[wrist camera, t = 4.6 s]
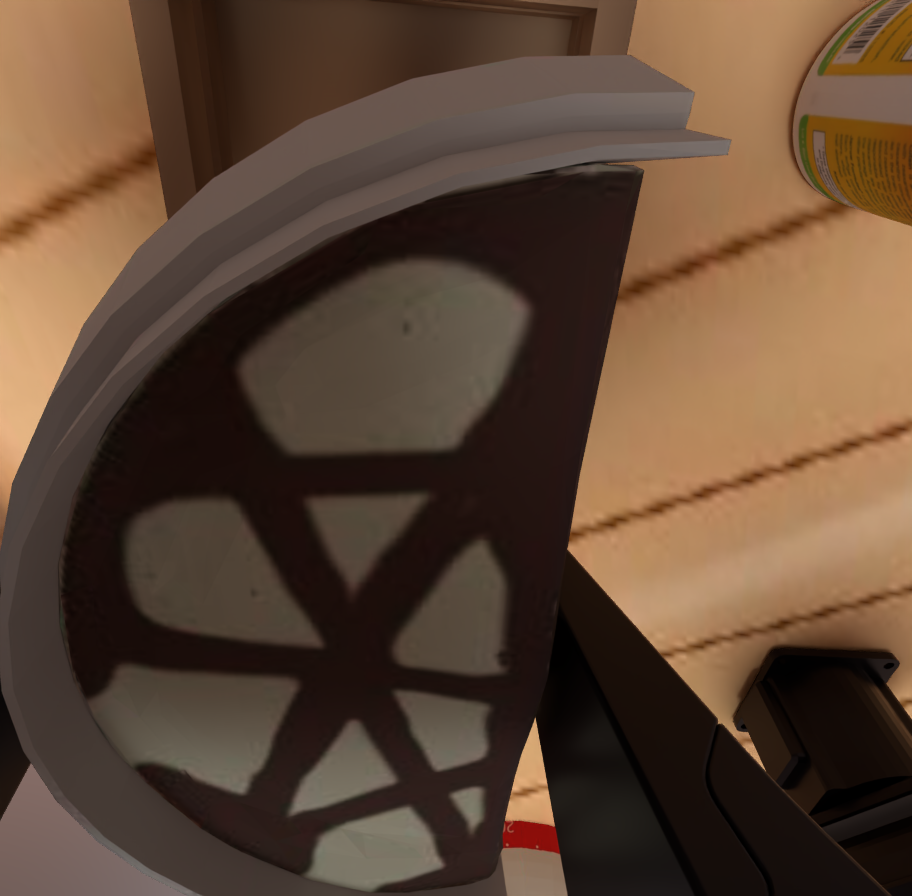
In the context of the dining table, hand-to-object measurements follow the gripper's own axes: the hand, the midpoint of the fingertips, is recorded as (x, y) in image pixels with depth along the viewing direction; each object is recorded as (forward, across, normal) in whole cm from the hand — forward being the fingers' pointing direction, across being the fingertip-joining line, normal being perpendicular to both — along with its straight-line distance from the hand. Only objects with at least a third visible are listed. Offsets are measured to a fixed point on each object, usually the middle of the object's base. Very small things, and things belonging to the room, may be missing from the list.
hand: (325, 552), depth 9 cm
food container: (+7, +1, 0) cm, 7 cm away
